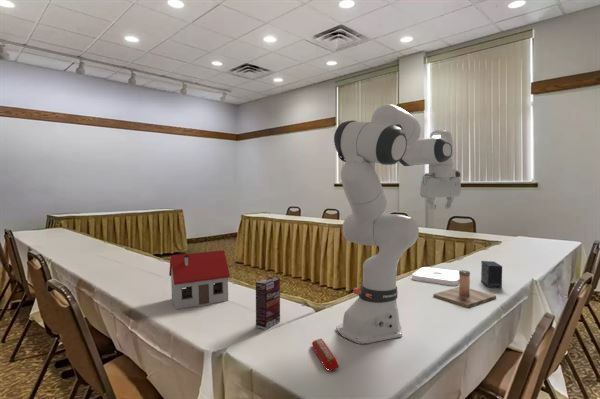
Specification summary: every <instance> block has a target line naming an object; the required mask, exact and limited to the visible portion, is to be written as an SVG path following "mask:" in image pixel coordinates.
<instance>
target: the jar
mask: <svg viewBox="0 0 600 399" xmlns="http://www.w3.org/2000/svg"><path fill="white" fill-rule="evenodd" d="M458 271H459V284H458V287H459V295H461V296H470V289H471V287H470V283H471V282H470V280H471V279H470V278H471V277H470V276H471V272H470V271H468V270H461V269H460V270H458Z"/></svg>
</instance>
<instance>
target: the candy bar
mask: <svg viewBox="0 0 600 399" xmlns="http://www.w3.org/2000/svg"><path fill="white" fill-rule="evenodd" d="M311 344H312V348H313V347H314V348H313V349H315V350H316V352H317V353H316V352H315V353H316V355H317V354H318V355H317V357H318V356H319V357H320V359H321V360H320V359H319V360H320V361H322V362H323V364H324V365H323V364H322V365H323V367H324V366H325V367H326V368H327V369H329V370H331V369H333V370H336V369H339V364H338V361H337V358H336V356H334V354H333V352H332V351H331V350H330V347H328V345H327V344H326V342H325V341H324V339H322V338H318V339H315V340H313V341H312V343H311ZM315 350H314V351H315ZM319 357H318V358H319ZM322 362H321V363H322ZM325 367H324V368H325ZM331 371H332V370H331Z"/></svg>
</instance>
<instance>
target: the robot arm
mask: <svg viewBox="0 0 600 399" xmlns="http://www.w3.org/2000/svg"><path fill="white" fill-rule="evenodd" d="M421 130H422V128H421V125H420V122H419V121H418V119H417V118H416V117H415V116H414V115H412V114H411V113H409V112H408V110H407V111H406V110H405V109H403V108H402V107H400V106H396V105H394V104H383V105H381V106H379V107H378V108H377V109H375V110H374V112H373V114H372V116H371V120H370V121H357V120H347V121H343V122H341V123H340V124H339V125H338V126H337V128H336V130H335V132H334V135H333V142H334V148H335V150H336V152H337V156H338V158H339V159H340V160H341V161H343V162H345V163H344V164H343V166H342V167H341V169H340V178H341V184H342V188H343V190H344V191H343V192H344V194H345V197H346V199H347V201H348V204H349V206H350V209H351V213H350V214H348V215H347V216H346V217H345V219H344V221H343V223H342V227H341V228H342V234H343V237H344V238H345V240H346V241H347V242H350V243H354V244H357V245H361V246H372V247H373V246H375V247H378V253H377V254H373V255H372V256H371V257H368V258H367V259H366V260H365V261H364V262H363V264H362V284H361V286H360V287H361V288H359V287H354V288H353V292H352V293H353V294H355V295H358V298H357V299H356V300H355V301H354V302H353V303H352V304H350V306H349V307H348V309H346V311H345V312H344V313H343V314H344V315H343V318H342V319H343V320H342V321H343V322H342V323H341V324H338V325H336V329H337V330H336V332H337V331H338V332H339V333H340V334H341V335H343V336H344V338H345V337H346V338H348V339H350V340H349V341H351V340H352V341H351V342H353V341H354V342H353V343H356V342H357V343H356V344H360V343H367V344H371V343H377V342H381V341H386V340H391V339H396V338H400V337H402V336H403V334H402V333H403V332H402V326H401V322H400V317H399V316H400V315H399V308H398V303H397V299H398V294H399V292H398V287H397V271H398V270H397V268H398V264H399V261H400V259H401V257H402V255H403V254H404V253H405V251H407V250H408V249H409V248H411V247H412V246H413V245H414V244H415V243H416V242H417V240H418V238H419V234H420V230H419V225H418V224H417V221H416V220H415V219H414V217H412V216H411V217H410V216H407V215H403V214H398V213H397V214H395V213H384V212H385V211H386V209H387V205H388V201H387V198H386V195H385V191H384V189H383V185H382V183H381V180H380V178H379V175H378V174H377V171H376V164H379V165H383V166H384V165H385V166H389V165H391V166H392V165H395V164H398V162H399V163H400V164H401V165H402V166H404V167H410V166H411V167H412V166H420V165H421V166H422V165H424V166H425V165H428V173H426V172H425V173H424V175H423V176H422V177H421V178H422V179H421V183H420V189H419V190H420V193H419V194H420V197H421V198H425V199H427V200H426V201H427V202H428V205H429V210H431V211H432V210H436V209H437V204H435V198H446V203H444V205H445V206H444V207H445V209H452V204H453V201H454V197H459V196H460V194H461V193H462V192H461V190H462V189H461V188H462V187H461V185H462V183H461V179H460V178H461V177H462V173H461V172H460V171H459V170H457V169H455V168H454V163H453V155H454V143H453V142H454V141H453V136H452V133H451V132H450V131H448V130H445V129H444V130H442V129H439V130H434V131H431V133H430V135H429V137H426V138H420V137H421V132H422V131H421ZM338 332H337V333H338ZM339 333H338V334H339ZM340 334H339V335H340ZM341 335H340V336H341ZM343 336H342V337H343ZM346 338H345V339H346ZM348 339H347V340H348Z"/></svg>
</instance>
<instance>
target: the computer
mask: <svg viewBox="0 0 600 399" xmlns="http://www.w3.org/2000/svg"><path fill="white" fill-rule="evenodd" d="M459 271H460V270H454V269H446V268H445V269H444V268H437V267H429V266H423V267H420V268H419V269H417V270H416V271H414V272H413V273H412V274H411V275H412V276H411V277H412V280H413V281H418V282H419V281H420V282H426V283H432V284H439V285H445V286H459Z"/></svg>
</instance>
